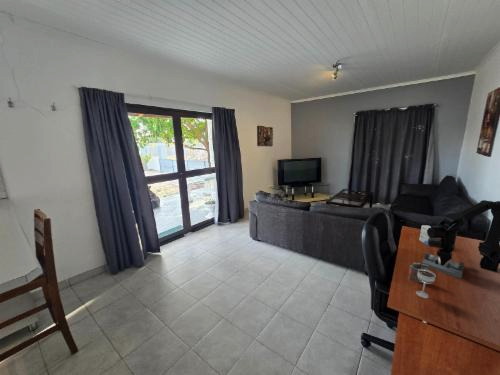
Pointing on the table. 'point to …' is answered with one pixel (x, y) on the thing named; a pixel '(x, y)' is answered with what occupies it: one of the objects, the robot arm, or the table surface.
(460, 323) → the table surface
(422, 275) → the wineglass
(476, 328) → the table surface
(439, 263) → the coupler
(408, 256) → the table surface
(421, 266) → the grey box
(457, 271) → the shaft mount
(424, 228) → the ink box
